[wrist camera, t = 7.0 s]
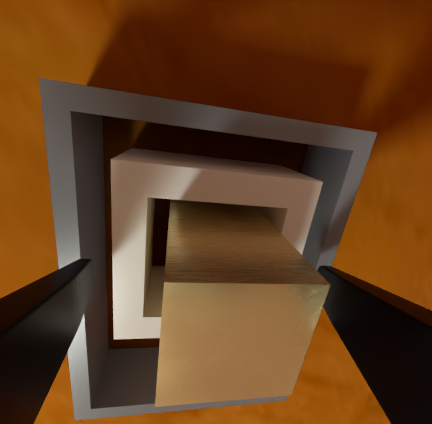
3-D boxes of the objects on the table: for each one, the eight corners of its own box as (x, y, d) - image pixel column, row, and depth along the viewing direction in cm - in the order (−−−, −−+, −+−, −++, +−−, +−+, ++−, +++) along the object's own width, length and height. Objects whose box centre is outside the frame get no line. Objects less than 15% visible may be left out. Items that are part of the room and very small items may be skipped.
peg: (243, 194, 13) (330, 284, 6) (232, 256, 14) (291, 394, 7) (171, 187, 12) (164, 282, 5) (166, 253, 14) (154, 407, 6)
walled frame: (325, 130, 13) (388, 132, 9) (265, 350, 18) (288, 409, 14) (82, 92, 10) (29, 74, 7) (96, 358, 15) (70, 432, 12)
